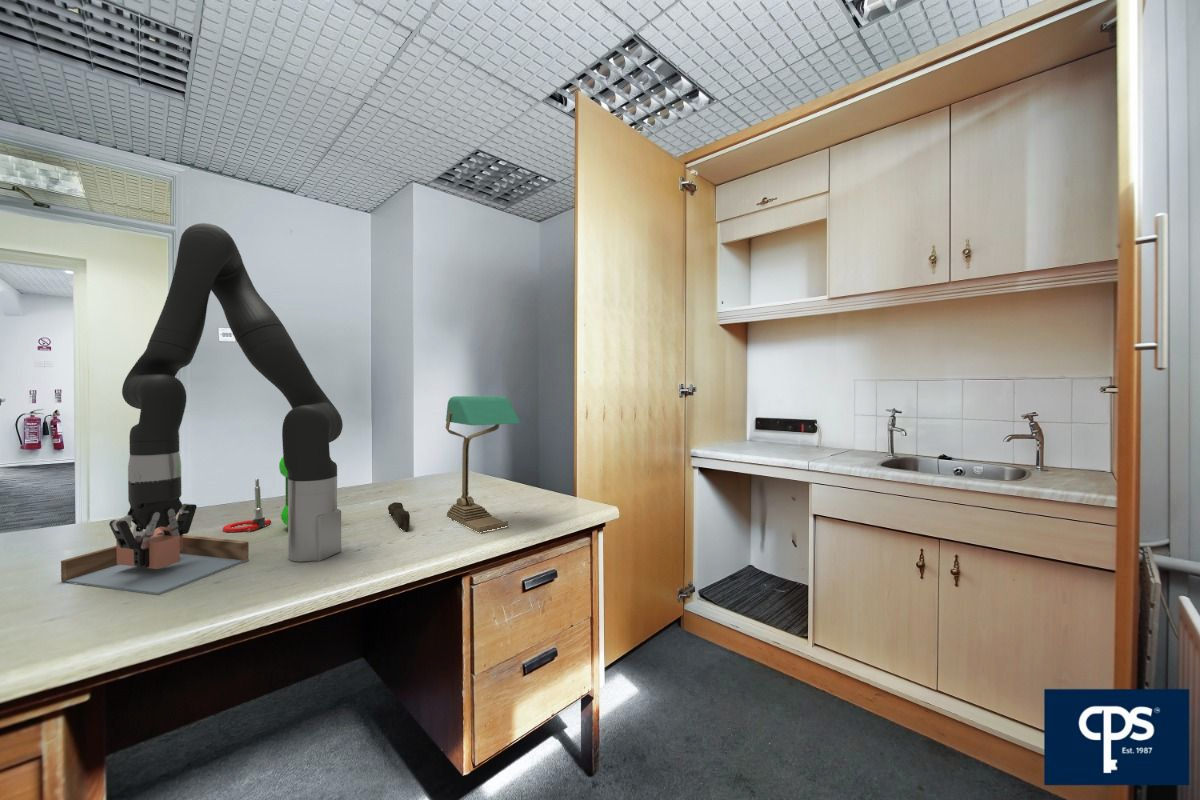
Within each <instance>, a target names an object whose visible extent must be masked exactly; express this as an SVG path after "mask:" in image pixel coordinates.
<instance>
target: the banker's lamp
mask: <svg viewBox="0 0 1200 800" xmlns="http://www.w3.org/2000/svg"><path fill="white" fill-rule="evenodd" d="M517 414H518V413H516V409H515V408H514V406H513V404H512V403H511V401H510V399H509V398H507V397H506V396H499V395H497V396H496V395H491V396H489V395H483V396H481V395H479V396H478V395H475V396H473V395H472V396H471V395H470V396H469V395H467V396H466V395H465V396H464V395H463V396H461V395H460V396H458V395H457V396H455V395H453V396H452V397H450V398H449V399H448V401H447V408H446V415H445V416H446V418H445V423H446V424H445V430H446V431H447V432H448V434H450V435H454V436H457V437H460V438H463V442H462V461H461V462H462V463H461V464H462V465H461V466H462V470H461V472H462V473H461V474H462V477H461V479H462V480H461V483H462V484H461V497H459V498H457V500H456V503H453V504H452V505H451V506H450V507H449V509H448V511H447V512H446V518H447V517H449V518H451V519H453V520H455V521H457V522H459V523H461V524H463V525H465V526H467V527H469V528H471V529H473V530H475V531H477V532H479V533H480V532H483V531H487V530H492V529H497V528H501V527H505V526H508V527H509V520H502V519H500V518H498V517H495V516H492V514H491V513H490V512H488V510H487V509H486V508H485V507H483V505H480V504H477V503H475V501H474V499H473V497H472V496H470V495H469V458H470V457H469V452H470V450H469V448H470V442H471V440H473V438H477V437H480V436H483V435H486V434H490V433H492V432H495V431H497V430H499V429H500V425H512V424H513V425H514V424H515V425H516V424H521V423H522V422H521V420H520V418H519V417H518V415H517ZM451 423H454V424H460V425H461V424H462V425H464V426H465V425H466V426H487V425H488V426H490V425H491V426H492V427H489V428H486V429H483V430H480V431H478V432H475V433H473V434H470V435H468V436H467V437H466V435H463V434H461V433H458V432H456V431H453V430H452V429H450V425H451ZM449 518H448V519H449ZM451 519H450V520H451ZM453 520H452V521H453ZM455 521H454V522H455ZM457 522H456V523H457ZM459 523H458V524H459ZM461 524H460V525H461ZM463 525H462V526H463ZM465 526H464V527H465ZM467 527H466V528H467ZM469 528H468V529H469ZM471 529H470V530H471ZM473 530H472V531H473ZM475 531H474V532H475ZM477 532H476V533H477ZM479 533H478V534H479Z"/></svg>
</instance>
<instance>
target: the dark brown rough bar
mask: <svg viewBox="0 0 1200 800" xmlns="http://www.w3.org/2000/svg"><path fill="white" fill-rule="evenodd" d="M387 510H388V514H389V515H390V514H391V515H390V516H391V517H393V520H394V521H395V522H396V523H397V528H398V527H399V528H401V529H402V530H405V531H407V532H408V531H409V529H410V523H411V521H410V520H411V518H410V517H411V516H410V512H409V511H408V510H405V508H404V505H403V503H402V502H396V501H395V502H392V503H390V504H389V505H388V506H387ZM399 528H398V529H399ZM401 529H400V530H401ZM402 530H401V531H402ZM405 531H404V532H405Z"/></svg>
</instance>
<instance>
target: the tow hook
mask: <svg viewBox="0 0 1200 800" xmlns="http://www.w3.org/2000/svg"><path fill="white" fill-rule="evenodd" d="M254 481H255V482H254V504H255V508H254V519H249V520H243V521H236V522H233V523H229V524H227V525H224V526H223V527H222V532H224V533H236V532H237V533H238V532H244V531H247V532H248V531H249V532H248V533H250V531H251V532H253V530H254V531H256V530H259V529H258V528H260V529H262V528H264V527H266V526H265V525H267V526H269V525H271V524H272V520H271V519H270V518H269V519H266V517H265V516H264V515H263V508H262V499H261V497H262V496H261V486H260V478H255V480H254ZM243 524H247V525H243ZM268 524H269V525H268ZM238 525H240V526H238ZM235 526H236V527H235ZM263 526H264V527H263ZM232 527H233V528H232ZM261 527H262V528H261ZM255 529H256V530H255Z"/></svg>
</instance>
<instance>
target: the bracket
mask: <svg viewBox="0 0 1200 800" xmlns="http://www.w3.org/2000/svg"><path fill="white" fill-rule="evenodd" d="M183 535H184V534H183ZM183 535H181V536H180V537H178V536H168V535H163V534H162V531H161V530H160V529H159V528H156V529H155V531H154V534H153V536H151V538H150V541H149V545H148V547H147V548H149V567H147V568H152V569H159V568H162V567H165V566H168V565H171V564H174V563H177V562H180V551H182V550H183ZM115 546H117V564H119V565H127V566H135V565H134V550H133V549H127V548H120V546H119V544H118V542H117V540H116V545H115ZM135 567H137V566H135Z"/></svg>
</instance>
